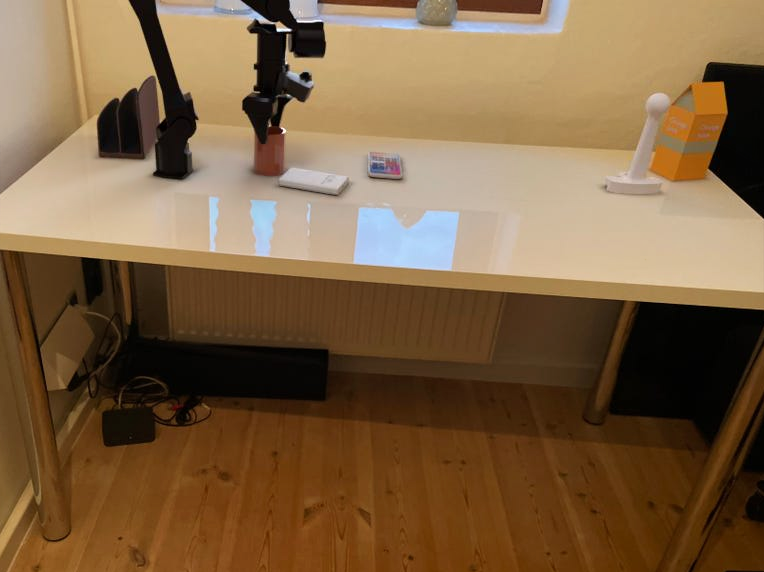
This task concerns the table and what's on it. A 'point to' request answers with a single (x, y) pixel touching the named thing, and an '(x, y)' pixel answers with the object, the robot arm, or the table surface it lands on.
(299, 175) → the hard drive
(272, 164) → the cup
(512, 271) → the table surface
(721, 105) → the orange juice
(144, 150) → the letter holder
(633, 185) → the joystick
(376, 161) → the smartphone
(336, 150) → the table surface
